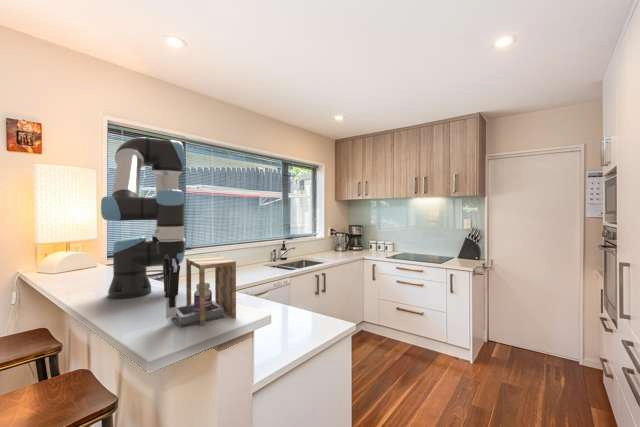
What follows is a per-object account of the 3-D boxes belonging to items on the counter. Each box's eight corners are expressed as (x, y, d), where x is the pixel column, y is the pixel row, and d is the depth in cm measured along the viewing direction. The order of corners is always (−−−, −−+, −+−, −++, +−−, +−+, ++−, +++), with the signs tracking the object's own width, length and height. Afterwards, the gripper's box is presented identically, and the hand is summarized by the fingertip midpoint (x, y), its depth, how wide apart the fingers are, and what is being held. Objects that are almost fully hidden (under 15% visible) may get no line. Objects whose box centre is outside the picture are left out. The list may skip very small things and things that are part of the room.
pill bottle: (205, 317, 94) (205, 286, 93) (190, 315, 95) (190, 285, 95) (215, 311, 99) (215, 282, 99) (200, 310, 100) (200, 281, 100)
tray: (172, 317, 96) (172, 307, 96) (212, 308, 104) (212, 300, 104) (180, 327, 88) (180, 317, 88) (224, 317, 96) (224, 308, 96)
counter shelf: (186, 311, 101) (186, 258, 101) (218, 305, 108) (218, 255, 108) (200, 326, 89) (200, 265, 89) (236, 317, 96) (235, 261, 95)
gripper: (153, 239, 94) (153, 313, 94) (161, 242, 83) (161, 326, 84) (178, 237, 98) (179, 309, 99) (189, 241, 88) (189, 320, 88)
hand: (171, 316), depth 91 cm, fingers closed
